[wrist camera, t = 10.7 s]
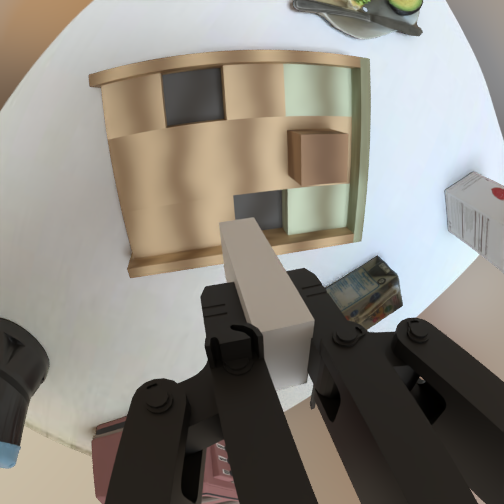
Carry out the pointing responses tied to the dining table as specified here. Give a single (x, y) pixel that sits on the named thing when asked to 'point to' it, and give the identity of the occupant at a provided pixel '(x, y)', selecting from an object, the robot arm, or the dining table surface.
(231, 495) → the toaster
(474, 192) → the supplement box
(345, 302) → the beverage carton
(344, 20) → the salad plate
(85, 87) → the dining table surface
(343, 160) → the block
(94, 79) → the box
